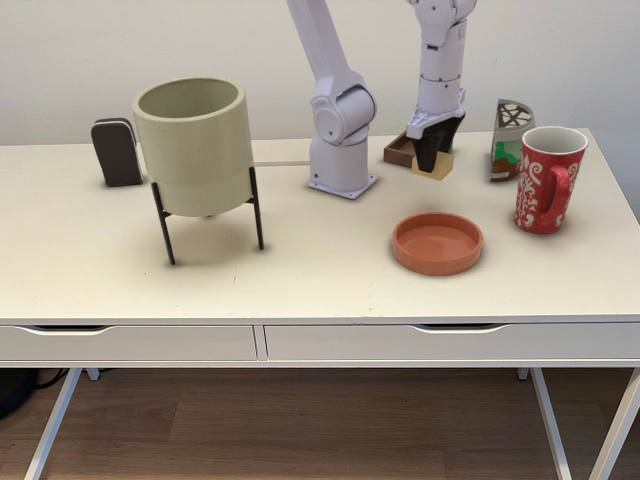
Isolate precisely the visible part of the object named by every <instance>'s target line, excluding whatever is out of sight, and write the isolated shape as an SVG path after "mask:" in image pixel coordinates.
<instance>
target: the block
mask: <svg viewBox="0 0 640 480" xmlns="http://www.w3.org/2000/svg"><path fill="white" fill-rule="evenodd" d="M454 161H455V155H454V154H451V153H450V154H448V153H444V152H440V151H438V153H437V158H436V163H435V166H434V169H433V171H432V172H431V173H427V172H423V171H420V170H419V169H418V164H417V159H416V156H415V157H414V158H413V160H412V168H411V174H412V175H417V176H420V177H424V178H427V179H432V180H434V181H438V182H442V181H443V180H444V179H445V178H446V177H447V176H448V175H449V174H450V173H451V172H452V171H453V170H454Z"/></svg>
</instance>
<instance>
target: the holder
mask: <svg viewBox="0 0 640 480" xmlns="http://www.w3.org/2000/svg"><path fill="white" fill-rule="evenodd" d="M406 135H407V133H406V129H405V130H404V131H403V132H402V133H400V134H399V135H398V136H397V137H396V138H395V139H393V140H392V141H391V142H390V143H388V145H386V146H384V148H383V159H382V160H383V162H385V163H389V164H393V165H397V166H401V167H405V168H409V169H412V160H413V158H414V157H415V156H416V154H415V150H414V147H413V144H412V142H411V140H410V138H409V137H407V136H406ZM453 145H454V140H453V141H452V144H451V147H450V150H449V153H448V154H451V153H453V147H454V146H453Z"/></svg>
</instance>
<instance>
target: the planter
mask: <svg viewBox="0 0 640 480" xmlns="http://www.w3.org/2000/svg"><path fill="white" fill-rule="evenodd" d="M131 110H132V114H133V119H134V123H135V127H136V132H137V135H138V140H139V144H140V147H141V152H142V156H143V160H144V164H145V165H144V166H145V169H146V173H147V176H148V181H149V184H150V190H151V193H152V197H153V201H154V203H155V207H156V211H157V215H158V219H159V223H160V228H161V231H162V236H163V240H164V245H165V248H166V253H167V257H168V260H169V264H170V265H171V266H174V265H176V259H175V254H174V251H173V246H172V243H171V237H170V233H169V230H168V225H167V221H166V218H169V217H170V216H173V215H175V216H180V217H185V218H203V217H207V218H210V217H213V216H218V215H220V214H224V213H227V212H230V211H232V210H234V209H237V208H239V207H241V206H242V205H243V204H250V205H253V211H254V219H255V220H254V221H255V226H256V235H257V243H258V249H259V250H261V251H264V249H265V243H264V233H263V226H262V225H263V224H262V217H261V208H260V200H259V191H258V183H257V175H256V167H255V160H254V152H253V145H252V135H251V128H250V126H251V125H250V119H249V110H248V102H247V93H246V89H245V87H244V86H243V85H242V83H240V82H239V81H236V80H234V79H232V78H228V77H224V76H219V75H211V74H210V75H207V74H196V75H186V76H185V75H184V76H180V77H174V78H169V79H166V80H162V81H159V82H156V83H154V84H151V85H150V86H149V85H148V86H147V87H146V88H143V89H142V90H141V91H139V92H138V93H137V94H136V95H135V97H133V99H132V101H131Z"/></svg>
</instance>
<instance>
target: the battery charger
mask: <svg viewBox="0 0 640 480" xmlns="http://www.w3.org/2000/svg"><path fill="white" fill-rule="evenodd" d="M90 136H91V141H92V145H93V149H94V151H95V154H96V158H97V160H98V164H99V166H100V169H101V172H102V175H103V178H104V182H105V185H106V186H108V187H109V186H112V187H113V186H127V185H128V186H130V185H136V184H142V183H143V181H144V175H143V171H142V168H141V164H140V160H139V154H138V149H137V145H138V143H137V139H136V135H135V131H134V127H133V125H132V123H131V121H130V120H128V119H127V118H126V117H107V118H100V119H97V120H95V121H94V123H93V124H92V126H91V128H90Z"/></svg>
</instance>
